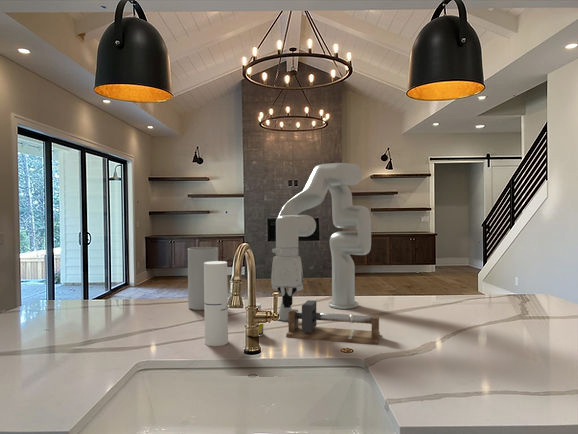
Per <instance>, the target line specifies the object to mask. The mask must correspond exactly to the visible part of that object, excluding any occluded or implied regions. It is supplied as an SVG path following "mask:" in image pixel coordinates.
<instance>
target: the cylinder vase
mask: <svg viewBox="0 0 578 434" xmlns="http://www.w3.org/2000/svg"><path fill="white" fill-rule="evenodd" d="M211 261H219V247H216V246H214V247H213V246H198V247H197V246H196V247H188V248H187V293H188V294H187V297H188V299H187V300H188V303H187V305H188V308H189V309H190V310H193V311H205V307H204V303H205V302H204V263H205V262H211Z"/></svg>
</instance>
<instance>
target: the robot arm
mask: <svg viewBox="0 0 578 434" xmlns="http://www.w3.org/2000/svg"><path fill="white" fill-rule="evenodd" d="M362 174H363V173H362V169H361V167H360V165H358V164H357V163H345V162H333V163H321V164H318V165H316V166H315V167H313V170H312V171H311V174H310V175H309V178H308V179H307V182H306V183H305V186H304V187H303V190H302V191H300V192H299V193H297V194H296V195H294V196H293V197H292V198H291V199H289V200H287V202H286V203H285V204H283V206H282V208H281V209H280V212H279V214H278V216H277V217H276V220H275V248H272V249H271V252H272V253H273V254H275V256H273V258H272V265H271V276H270V277H271V278H270V282H271V288H272V290H275V291H278V292H279V293H280V294H281V297H282V296H283V305H284V308H286V307H287V308H289V307H291V308H292V305H293V295H294V294H295V293H296V292H298V291H302V290H304V285H303V283H304V273H303V272H304V271H303V264H302V258H301V256H299V237H309V236H310V237H311V235H313V234H314V232H315V231H316V229H317V222H316V220H315V218H313V217H312V216H311V215H308V214H301V213H302V212H304V211H307V210H309V209H312V208H315V207H317V206H319V205H321V204H322V203H323V202H324V200H325V197H326V195H327V193H328V191H329V193H330V195H331V209H332V210H331V212H332V215H331V216H332V217H331V218H332V223H333V226H334V227H335V228H338V229H349V230H350V229H352V230H353V229H354V230H355V229H356V231H345V230H344V231H336V232H333V233H332V234H331V235H330V237H329V248H330V253H331V254H330V255H331V280H332V281H331V288H332V289H331V294H332V295H331V298H332V299H331V300H330V301H329V302H328V306H329V307H330V308H334V309H339V310H340V309H341V310H349V309H351V310H352V309H356V308H358V307H359V302H357V301H356V299H355V298H356V294H355V293H356V292H355V291H356V290H355V288H356V284H355V282H356V281H355V279H356V278H355V274H356V273H355V268H356V267H355V262H354V260H353V258H352V256H351V255H354V256H366V255H368V254H369V253H370V252H371V249H372V248H371V247H372V226H371V225H372V219H371V213H370V210H369V209H368V207H366V206H363V205H354V204H353V194H352V191H351V189H350V187H348V186H355V185H356V186H357V185H358V184H359V183H360V182H361V180H362ZM287 289H288V291H287ZM287 292H288V294H287Z"/></svg>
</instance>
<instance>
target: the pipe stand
mask: <svg viewBox="0 0 578 434" xmlns="http://www.w3.org/2000/svg"><path fill="white" fill-rule="evenodd" d="M296 311H299V309H296V308H295V309H293V308H292V310H291V311H290V312H289V313H288V331H287V332H286V335H285V336H286V338H298V339H308V340H309V339H310V340H321V341H334V342H335V341H336V342H343V343H344V342H346V343H359V344H370V345H378V344H379V340H380V339H379V338H380V334H381V333H380V314H376V313H375V314H372V315H371V316H372V318H371V324H370V325H371V330H361V329H353V328H352V329H349V328H337V327H335V328H334V327H323V326H316V327H315V328H314V329H313V330H312V332H302V325H299V319H296V318H295V313H296Z"/></svg>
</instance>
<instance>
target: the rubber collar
mask: <svg viewBox="0 0 578 434" xmlns="http://www.w3.org/2000/svg"><path fill="white" fill-rule="evenodd" d="M301 312H302V319H301V326H302V332H312V330H313V329H314V328H315V327H317V325H318V324H317V321H318V320H312V312H315V313H317V300H310V299H309V300H307V301H305V302H304V303H303V304H302V305H301Z"/></svg>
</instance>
